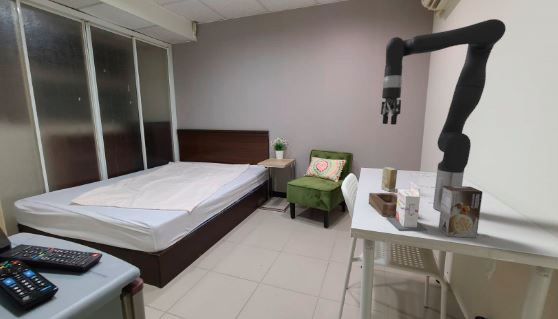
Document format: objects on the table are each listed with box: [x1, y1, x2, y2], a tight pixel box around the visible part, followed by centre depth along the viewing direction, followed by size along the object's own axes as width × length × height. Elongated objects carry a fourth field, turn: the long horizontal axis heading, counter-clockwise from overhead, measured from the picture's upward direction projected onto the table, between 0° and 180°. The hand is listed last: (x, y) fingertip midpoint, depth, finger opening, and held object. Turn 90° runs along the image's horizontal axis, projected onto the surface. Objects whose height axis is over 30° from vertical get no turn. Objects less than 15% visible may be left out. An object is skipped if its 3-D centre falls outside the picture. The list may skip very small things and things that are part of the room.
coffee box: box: [438, 185, 483, 239], centre depth 84 cm, size 9×6×16 cm
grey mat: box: [385, 217, 428, 231], centre depth 92 cm, size 10×10×1 cm
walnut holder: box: [368, 192, 398, 217], centre depth 106 cm, size 11×15×5 cm
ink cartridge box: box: [395, 181, 421, 228], centre depth 91 cm, size 9×5×15 cm, turn 173°
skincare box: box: [380, 166, 398, 193], centre depth 134 cm, size 6×4×12 cm
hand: (389, 124), depth 113 cm, fingers open, 8 cm apart
